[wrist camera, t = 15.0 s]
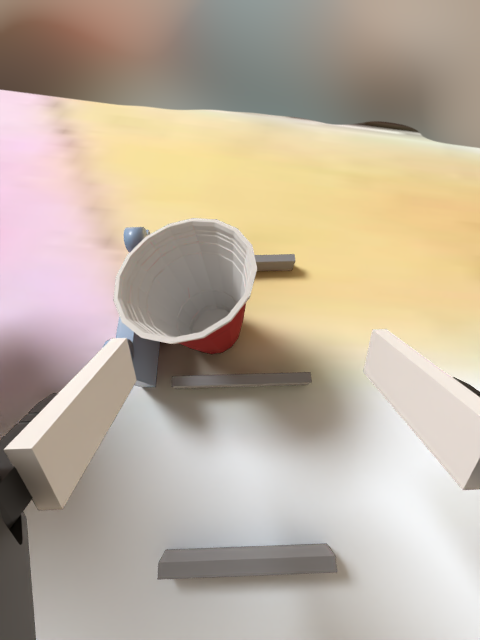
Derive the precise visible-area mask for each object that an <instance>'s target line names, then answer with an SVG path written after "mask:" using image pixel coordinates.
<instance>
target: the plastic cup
mask: <svg viewBox="0 0 480 640" xmlns="http://www.w3.org/2000/svg"><path fill="white" fill-rule="evenodd" d="M256 271H257V265H256V260H255V256H254V251H253V247H252V245H251V243H250V242H249V241H248V240H247V239H246V238H245V237H244V235H243V234H242V233H241V232H240V231H239V230H238V229H237V228H235V227H233V226H231V225H228V224H226V223H224V222H221V221H219V220H217V219H199V218H191V219H187V220H183V221H179V222H175V223H171V224H168V225H166V226H164V227H162V228H161V229H159V230H157V231H155V232H153V233H152V234H150V235H148V236H146V237H145V238H144V239H143V240H142V241H141V242H140V243H139V244H138V245H137V246H136V247H135V248H134V249H133V250H132V251H131V252H130V253H129V254H128V255H127V257H126V258H125V260H124V262H123V264H122V266H121V268H120V270H119V272H118V274H117V276H116V280H115V290H114V299H113V301H114V303H115V306H116V308H117V311H118V314H119V316H120V319H121V321H122V323H124V324H125V325H126V326H127V327H129V328H130V329H131V330H132V331H133V332H135V333H136V334H137V335H138V336H140V337H141V338H145V339H149V340H154V341H159V342H164V343H169V344H177V343H179V344H181V345H184V346H186V347H189V348H191V349H195V350H198V351H201V352H204V353H209V354H215V353H221V352H224V351H226V350H227V349H229V348H231V347H232V346H233V344H234V343H235V342H236V340H237V339H238V337H239V333H240V330H241V326H242V322H243V318H244V312H245V305H246V302H247V300H248V299H249V298H250V294H251V290H252V286H253V283H254V279H255V275H256Z"/></svg>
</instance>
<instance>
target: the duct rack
mask: <svg viewBox="0 0 480 640" xmlns="http://www.w3.org/2000/svg"><path fill="white" fill-rule="evenodd" d="M148 235H150V232H149V230H146V229H145V228H144V227H127V228H125V230H124V242H125V246H126V248H127V250H128V251H129V252H131V251H132V250H133V249H134V248H135V247H136V246H137V245H138V244H139V243H140V242H141V241H142V240H143V239H144V238H145V237H146V236H148ZM254 256H255V260H256V265H257V271H282V270H292V269H293V266H294V263H295V255H294V254H287V255H254ZM116 338H127V341H128V345H129V349H130V354H131V358H132V362H133V367H134V371H135V375H136V380H137V381H136V383H135V384H134V385H136V386H139V387H156V377H157V367H158V357H159V346H160V342H159V341H154V340H149V339H145V338H141V337H140V336H138V335H137V334H136V333H135V332H133V331H132V330H131V329H130V328H129V327H127V326H126V325H125V324H124V323H122V321H121V319H120V316H119V321H118V327H117V333H116ZM109 341H110V340H107V341H106V342H105V344H104V346H105V345H106V344H107V343H108V342H109ZM104 346H103V347H104ZM311 382H312V381H311V374H310V372H302V373H268V374H233V375H198V376H172V387H174V388H176V389H180V388H214V387H248V386H282V385H307V384H309V383H311ZM332 572H337V566H336V559H335V555H334V553H333V552H332V551H331V549H330V548H329V546H328V545H327V544H304V545H278V546H252V547H226V548H199V549H173V550H165V552H164V554H163V556H162V557H161V559H160V561H159V564H158V578H157V579H181V578H206V577H232V576H257V575H282V574H307V573H332Z"/></svg>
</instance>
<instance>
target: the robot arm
mask: <svg viewBox="0 0 480 640" xmlns="http://www.w3.org/2000/svg"><path fill="white" fill-rule="evenodd" d="M363 372H364V374H365V375H366V376H367V377H368V378H369V380H370V381H371V382H372V383H373V384H374V385H375V387H376V388H377V389H378V390H379V391H380V393H381V394H382V395H383V396H384V397H385V399H386V400H387V401H388V402H389V403H390V404H391V406H392V407H393V408H394V409H395V410H396V412H397V413H398V414H399V415H400V416H401V417H402V419H403V420H404V421H405V422H406V423H407V425H408V426H409V427H410V428H411V429H412V431H413V432H414V433H415V434H416V435H417V436H418V438H419V439H420V440H421V441H422V442H423V444H424V445H425V446H426V447H427V448H428V450H429V451H430V452H431V453H432V454H433V455H434V457H435V458H436V459H437V460H438V461H439V463H440V464H441V465H442V466H443V467H444V468H445V470H446V471H447V472H448V473H449V474H450V476H451V477H452V478H453V479H454V480H455V482H456V483H457V484H458V485H459V486H460V487H461V489H462V490H474V489H480V392H479V391H478V390H476V389H475V388H474V387H472V386H471V385H469V384H467V383H465V382H463V381H461V380H459V379H457V378H455V377H451V376H450V375H449V374H447V373H446V372H445V371H443V370H442V369H440V368H439V367H438V366H436V365H435V364H434V363H432V362H431V361H429V360H428V359H427V358H425V357H424V356H423V355H421V354H420V353H419V352H417V351H416V350H414V349H413V348H412V347H410V346H409V345H408V344H406V343H405V342H403V341H402V340H401V339H399V338H398V337H397V336H395V335H394V334H393V333H391V332H390V331H388V330H387V329H373V330H372V334H371V338H370V343H369V348H368V352H367V357H366V362H365V366H364V371H363ZM136 381H137V380H136V375H135V371H134V367H133V362H132V358H131V354H130V349H129V345H128V341H127V338H112V339H111V340H110V341H109V342H108V343H107V344H106V345H105V346H104V347H103V348H102V349H101V350H100V351H99V352H98V353H97V354H96V355H95V356H94V357H93V358H92V359H91V360H90V362H89V363H88V364H87V365H86V366H85V367H84V368H83V369H82V370H81V371H80V372H79V373H78V374H77V375H76V376H75V377H74V378H73V379H72V380H71V381H70V382H69V383H68V384H67V385H66V386H65V387H64V388H63V389H62V390H61V391H60V392H59V393H53V394H52V395H50V396H48V397H47V398H45V399H44V400H42V401H41V402H39V403H38V404H37V405H36V406H35V407H34V408H33V409H32V410H31V411H30V412H29V414H28V415H26V416H25V417H24V418H23V419H22V420H20V421H19V422H20V423H19V424H16V425H15V426H14V427H13V428H12V429H11V430H10V431H9V432H8V433H7V434H6V435H5V436H4V437H3V438H2V439H1V440H0V640H36V635H35V622H34V609H33V596H32V583H31V570H30V558H29V545H28V532H27V519H26V516H25V514H24V512H23V511H24V509H25V508H26V506H27V505H28V504H29V502H30V501H31V499H32V500H33V502H34V504H35V505H36V507H37V509H38V510H57V509H63V508H64V506H65V504H66V503H67V501H68V499H69V497H70V496H71V494H72V492H73V490H74V489H75V487H76V485H77V483H78V482H79V480H80V478H81V476H82V475H83V473H84V471H85V470H86V468H87V466H88V464H89V463H90V461H91V459H92V457H93V456H94V454H95V452H96V450H97V449H98V447H99V445H100V443H101V442H102V440H103V438H104V437H105V435H106V433H107V431H108V430H109V428H110V426H111V424H112V423H113V421H114V419H115V417H116V416H117V414H118V412H119V410H120V409H121V407H122V405H123V404H124V402H125V400H126V398H127V397H128V395H129V393H130V391H131V390H132V388H133V386H134V384H135V383H136Z"/></svg>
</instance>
